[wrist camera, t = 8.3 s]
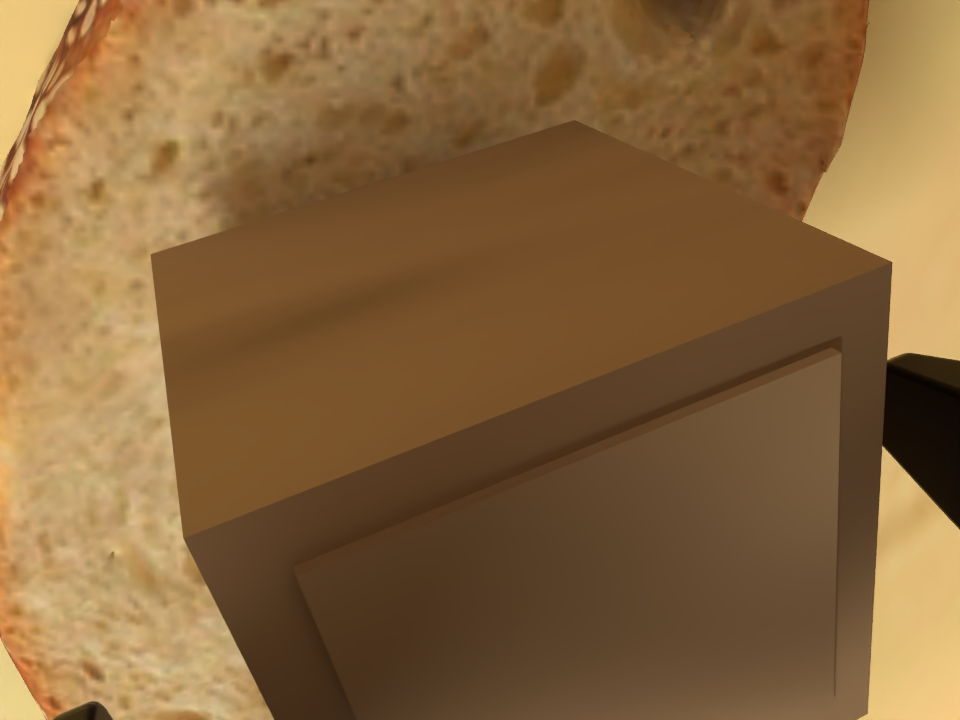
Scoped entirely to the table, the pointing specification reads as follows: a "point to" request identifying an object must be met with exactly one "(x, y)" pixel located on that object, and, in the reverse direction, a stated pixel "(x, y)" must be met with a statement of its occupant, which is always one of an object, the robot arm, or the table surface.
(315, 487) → the walnut cube
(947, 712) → the table surface
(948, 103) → the table surface
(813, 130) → the slice of bread
